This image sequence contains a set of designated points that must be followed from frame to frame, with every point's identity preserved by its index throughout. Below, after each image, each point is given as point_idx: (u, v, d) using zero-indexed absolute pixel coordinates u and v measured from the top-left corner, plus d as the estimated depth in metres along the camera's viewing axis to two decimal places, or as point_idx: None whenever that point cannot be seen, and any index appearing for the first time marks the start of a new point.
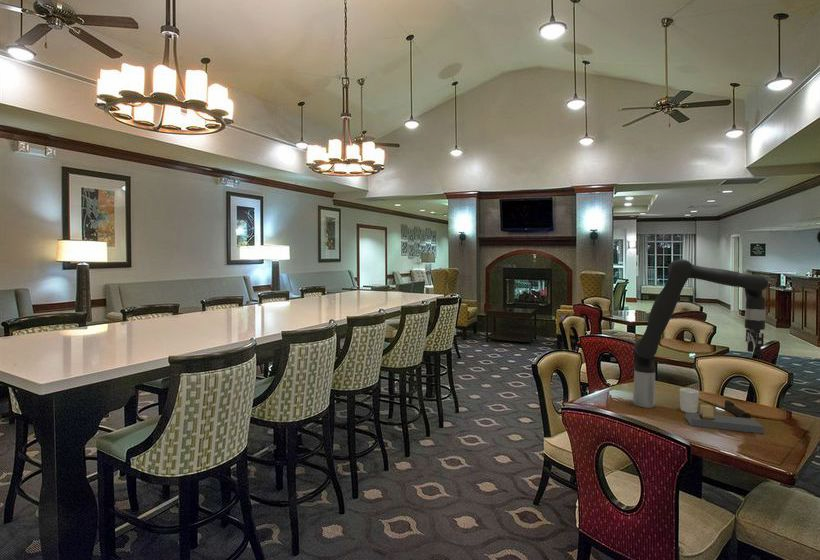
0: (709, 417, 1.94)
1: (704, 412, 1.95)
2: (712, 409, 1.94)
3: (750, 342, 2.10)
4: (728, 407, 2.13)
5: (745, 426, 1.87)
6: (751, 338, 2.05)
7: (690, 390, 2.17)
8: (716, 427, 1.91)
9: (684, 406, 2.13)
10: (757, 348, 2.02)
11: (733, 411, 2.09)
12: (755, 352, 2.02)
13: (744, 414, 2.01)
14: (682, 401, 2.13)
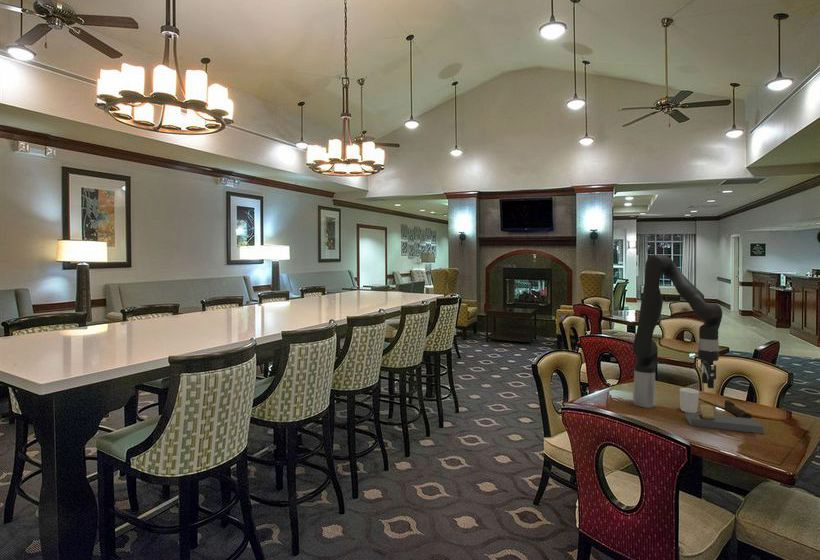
0: (709, 417, 1.94)
1: (704, 412, 1.95)
2: (712, 409, 1.94)
3: (704, 373, 2.00)
4: (728, 407, 2.13)
5: (745, 426, 1.87)
6: (704, 369, 1.94)
7: (690, 390, 2.17)
8: (716, 427, 1.91)
9: (684, 406, 2.13)
10: (710, 381, 1.91)
11: (733, 411, 2.09)
12: (708, 385, 1.92)
13: (744, 414, 2.00)
14: (682, 401, 2.13)
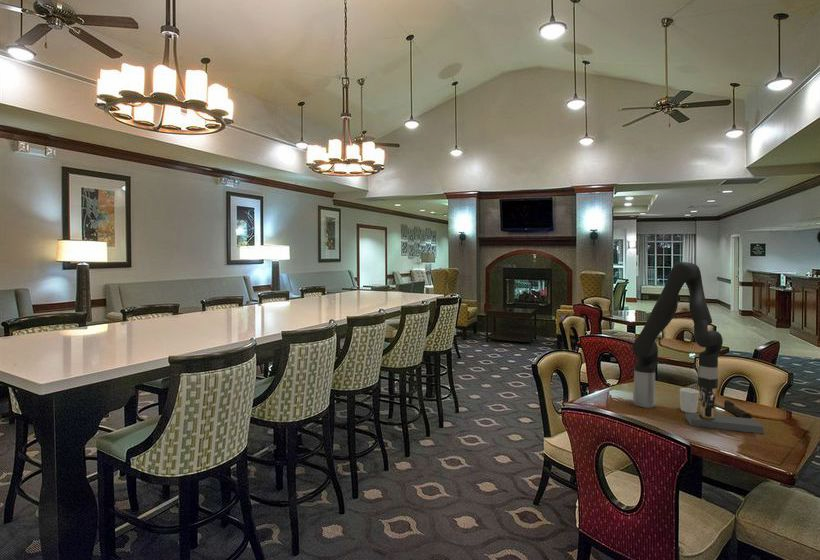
0: (709, 417, 1.94)
1: (704, 412, 1.95)
2: (712, 409, 1.94)
3: (705, 403, 1.98)
4: (728, 407, 2.13)
5: (745, 426, 1.87)
6: (703, 397, 1.95)
7: (690, 390, 2.17)
8: (716, 427, 1.91)
9: (684, 406, 2.13)
10: (708, 409, 1.93)
11: (733, 411, 2.09)
12: (706, 413, 1.94)
13: (745, 414, 2.00)
14: (682, 401, 2.13)
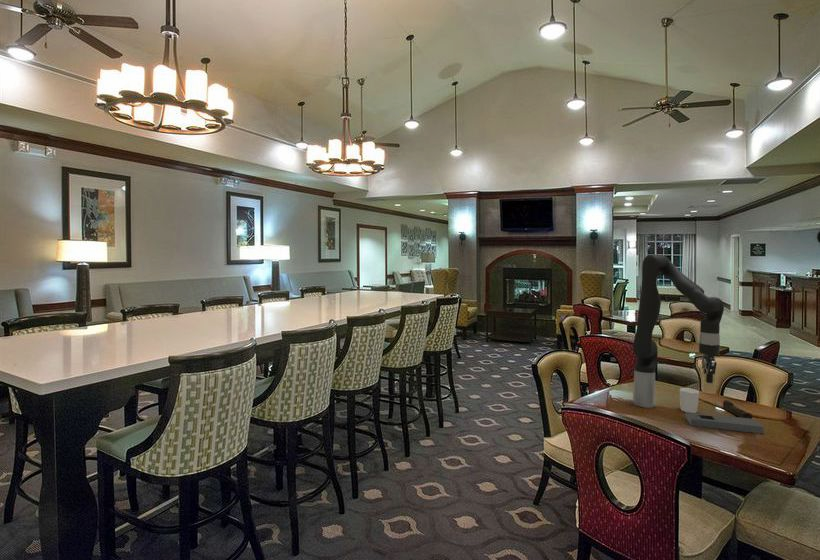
0: (710, 383, 1.94)
1: (705, 379, 1.94)
2: (713, 375, 1.93)
3: None
4: (727, 407, 2.13)
5: (745, 426, 1.87)
6: (704, 363, 1.95)
7: (690, 390, 2.17)
8: (716, 427, 1.91)
9: (684, 406, 2.13)
10: (709, 375, 1.93)
11: (733, 411, 2.09)
12: (707, 379, 1.93)
13: (745, 414, 2.00)
14: (682, 401, 2.13)
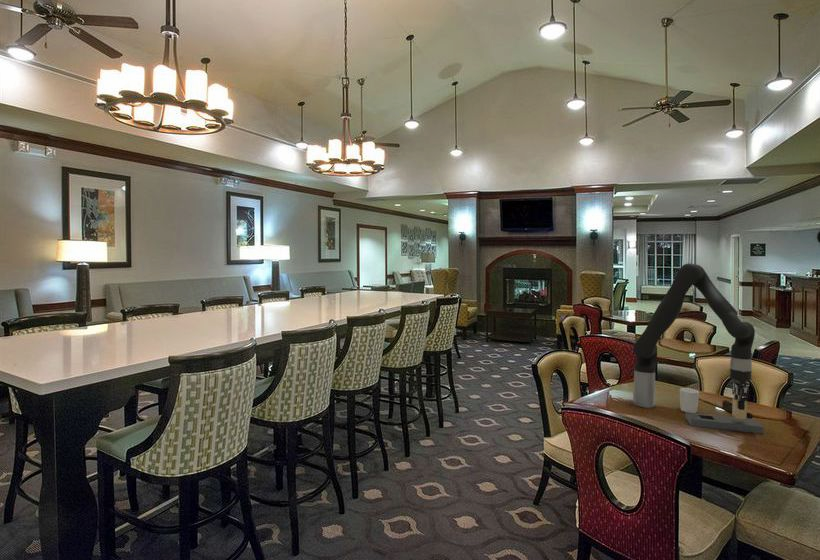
0: (742, 410, 1.90)
1: (737, 405, 1.91)
2: (745, 402, 1.90)
3: (737, 396, 1.94)
4: (727, 407, 2.13)
5: (745, 426, 1.87)
6: (736, 389, 1.91)
7: (690, 390, 2.17)
8: (716, 427, 1.91)
9: (684, 406, 2.13)
10: (741, 402, 1.89)
11: None
12: (739, 406, 1.90)
13: None
14: (682, 401, 2.13)
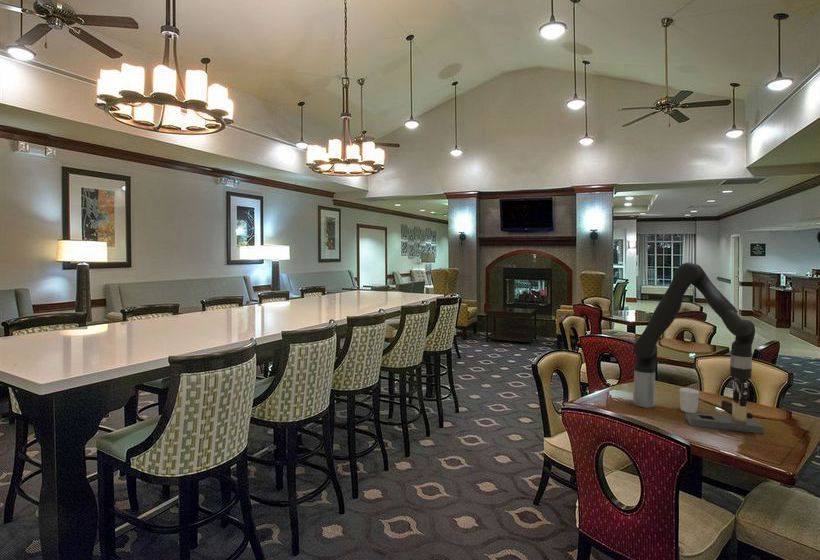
0: (742, 413, 1.90)
1: (737, 408, 1.91)
2: None
3: (736, 390, 1.96)
4: (726, 407, 2.13)
5: (745, 426, 1.87)
6: (736, 387, 1.91)
7: (690, 390, 2.17)
8: (716, 427, 1.91)
9: (684, 406, 2.13)
10: (742, 399, 1.87)
11: None
12: (740, 403, 1.88)
13: None
14: (682, 401, 2.13)
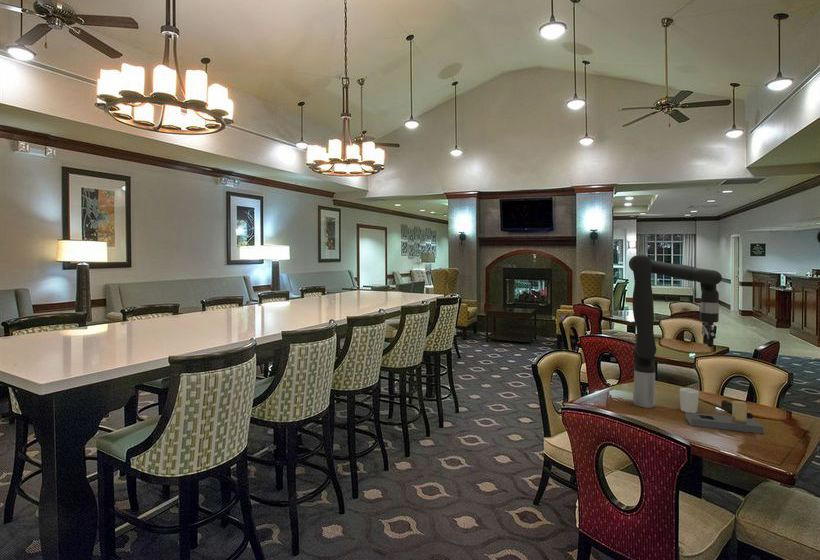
0: (742, 413, 1.90)
1: (737, 408, 1.91)
2: (745, 405, 1.89)
3: (705, 334, 2.18)
4: (726, 407, 2.13)
5: (745, 426, 1.87)
6: (705, 330, 2.13)
7: (690, 390, 2.17)
8: (716, 427, 1.91)
9: (684, 406, 2.13)
10: (710, 340, 2.09)
11: None
12: (708, 344, 2.10)
13: None
14: (682, 401, 2.13)
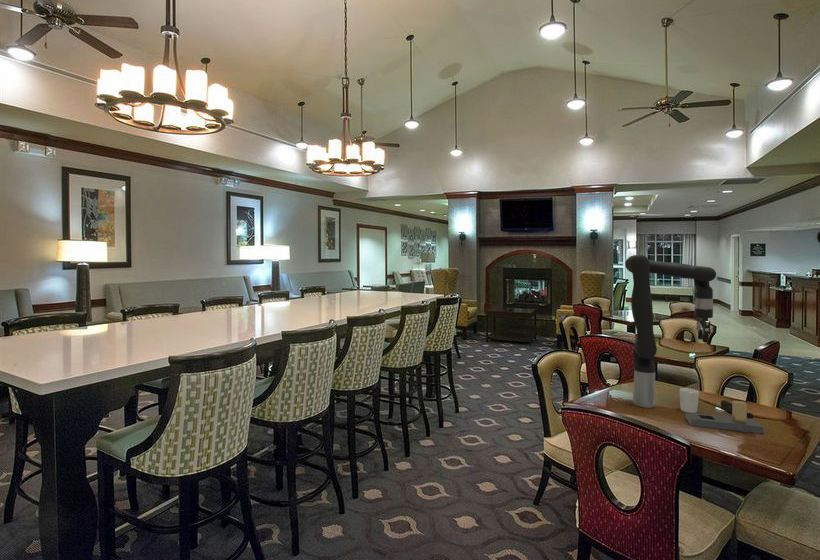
0: (742, 413, 1.90)
1: (737, 408, 1.91)
2: (745, 405, 1.89)
3: (700, 330, 2.22)
4: (726, 407, 2.13)
5: (745, 426, 1.87)
6: (700, 326, 2.17)
7: (690, 390, 2.17)
8: (716, 427, 1.91)
9: (684, 406, 2.13)
10: (705, 335, 2.13)
11: None
12: (703, 339, 2.14)
13: (747, 414, 2.00)
14: (682, 401, 2.13)
